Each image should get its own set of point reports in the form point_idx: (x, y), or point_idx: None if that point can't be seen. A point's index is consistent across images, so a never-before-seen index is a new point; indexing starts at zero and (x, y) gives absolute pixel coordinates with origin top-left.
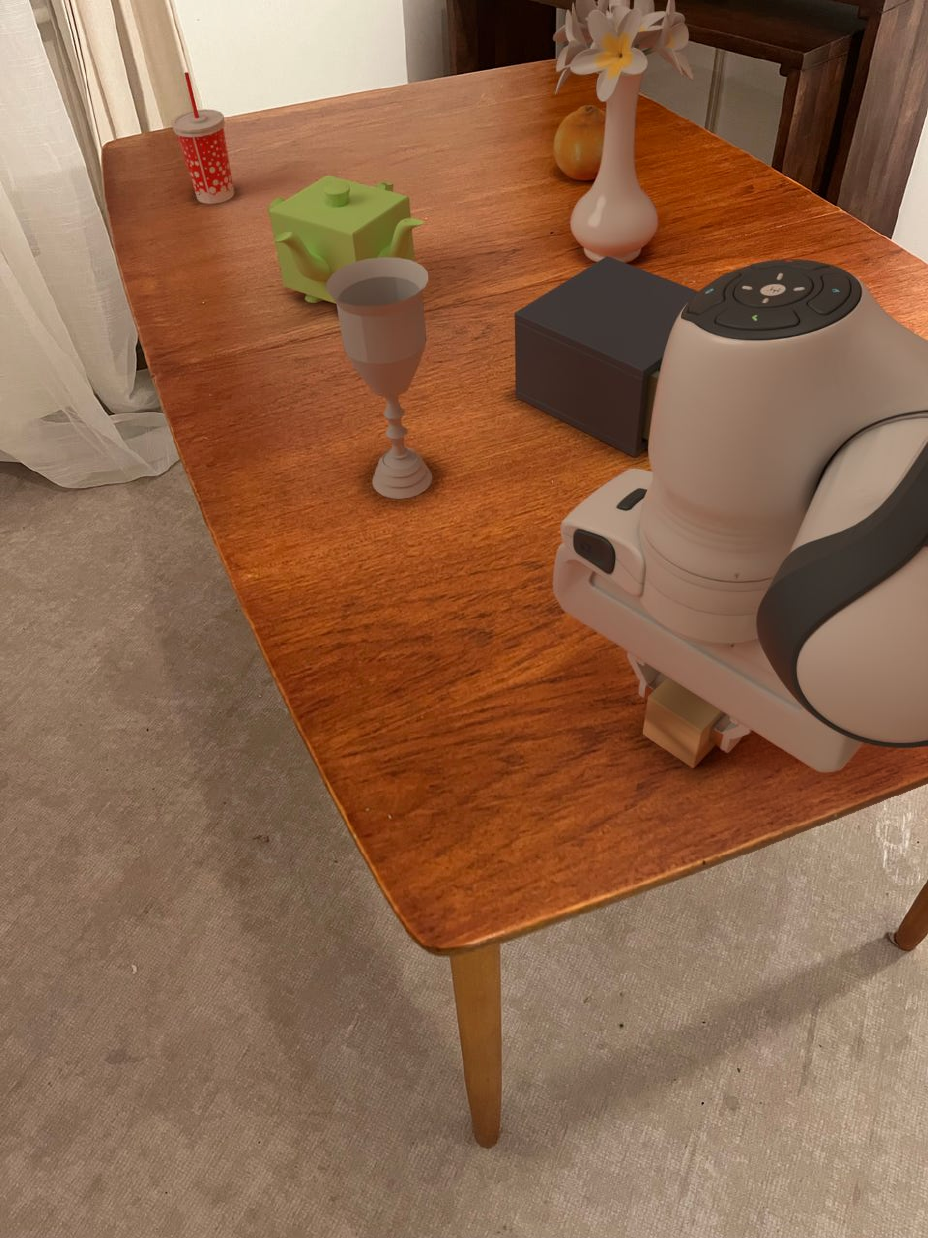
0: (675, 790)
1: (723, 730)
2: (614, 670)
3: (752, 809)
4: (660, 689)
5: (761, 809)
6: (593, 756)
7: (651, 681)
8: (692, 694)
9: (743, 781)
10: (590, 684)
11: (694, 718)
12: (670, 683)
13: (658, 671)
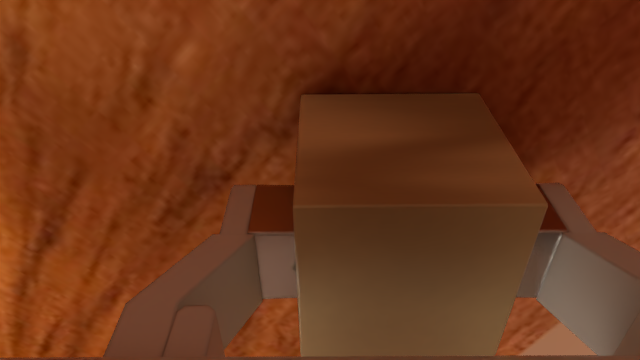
0: None
1: (536, 287)
2: (104, 129)
3: (608, 224)
4: (311, 325)
5: (628, 214)
6: (268, 307)
7: (259, 288)
8: (404, 291)
9: (568, 185)
10: (109, 197)
11: (456, 343)
12: (321, 302)
13: (250, 264)
